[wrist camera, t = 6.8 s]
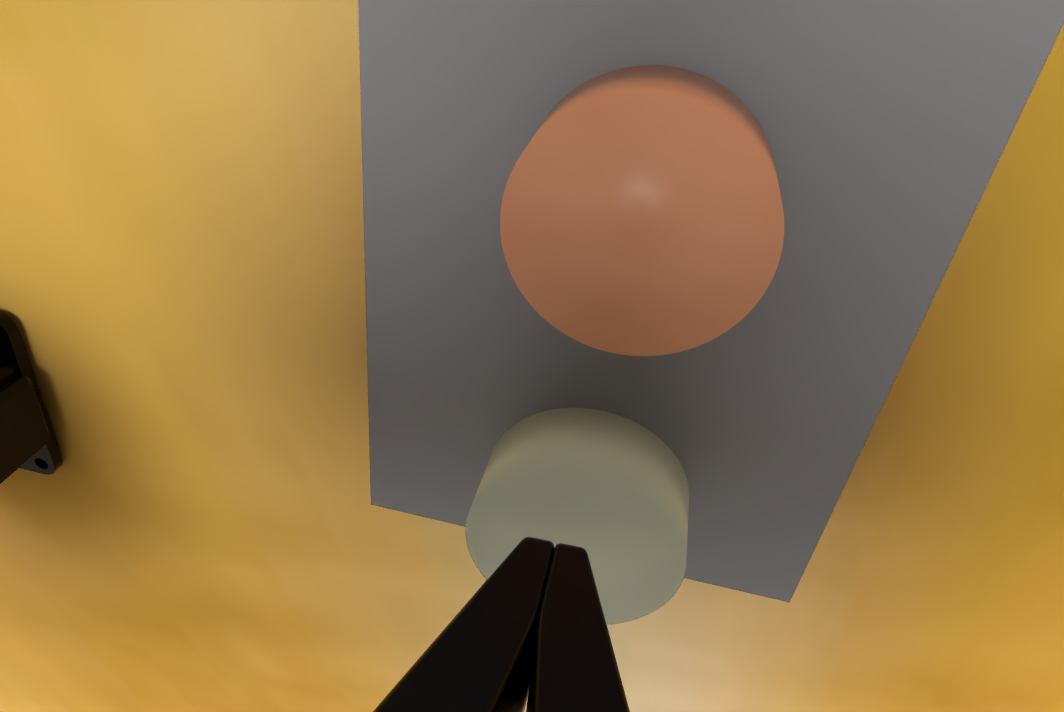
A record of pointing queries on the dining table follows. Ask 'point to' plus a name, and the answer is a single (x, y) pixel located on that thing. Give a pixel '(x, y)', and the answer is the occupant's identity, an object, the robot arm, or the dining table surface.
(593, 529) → the button sage
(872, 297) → the button panel
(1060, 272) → the dining table surface
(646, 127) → the button terracotta
